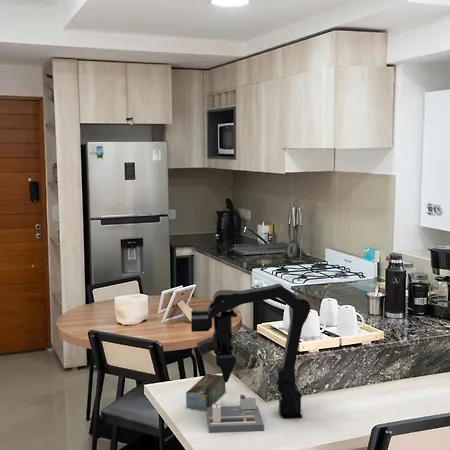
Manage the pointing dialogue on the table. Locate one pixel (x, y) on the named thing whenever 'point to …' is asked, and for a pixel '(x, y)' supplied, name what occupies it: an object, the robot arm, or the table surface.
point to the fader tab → (216, 413)
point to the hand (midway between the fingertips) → (224, 377)
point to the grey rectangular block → (248, 402)
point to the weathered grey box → (205, 392)
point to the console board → (236, 420)
